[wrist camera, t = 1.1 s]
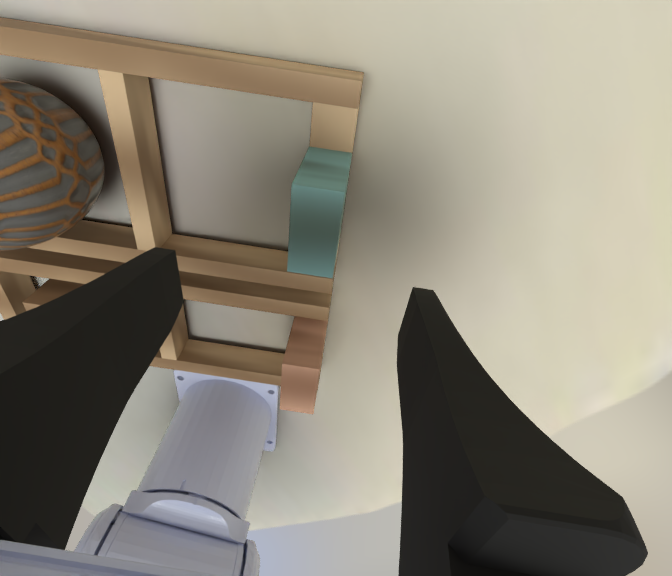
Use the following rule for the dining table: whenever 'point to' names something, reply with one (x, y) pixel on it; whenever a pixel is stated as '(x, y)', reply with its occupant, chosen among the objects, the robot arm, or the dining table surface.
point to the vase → (43, 166)
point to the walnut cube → (49, 292)
